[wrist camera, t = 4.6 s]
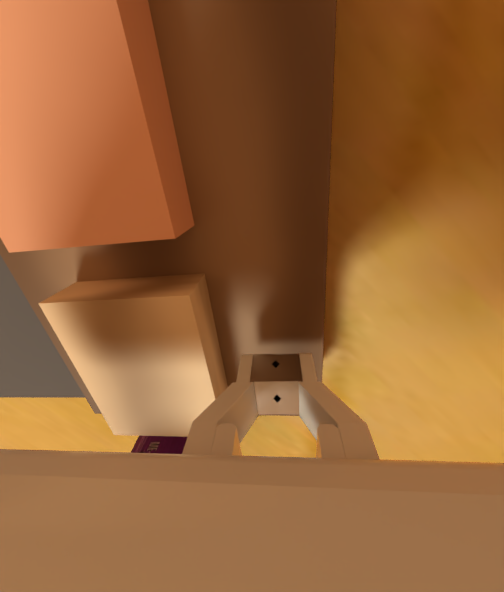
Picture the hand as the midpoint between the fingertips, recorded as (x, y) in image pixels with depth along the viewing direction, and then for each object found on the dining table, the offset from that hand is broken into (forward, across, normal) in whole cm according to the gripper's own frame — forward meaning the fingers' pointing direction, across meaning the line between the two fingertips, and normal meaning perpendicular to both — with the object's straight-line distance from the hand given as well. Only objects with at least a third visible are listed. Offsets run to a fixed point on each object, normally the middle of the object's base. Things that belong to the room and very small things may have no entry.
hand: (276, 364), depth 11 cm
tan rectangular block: (+1, +6, 0) cm, 6 cm away
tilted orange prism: (+1, +6, -10) cm, 12 cm away
